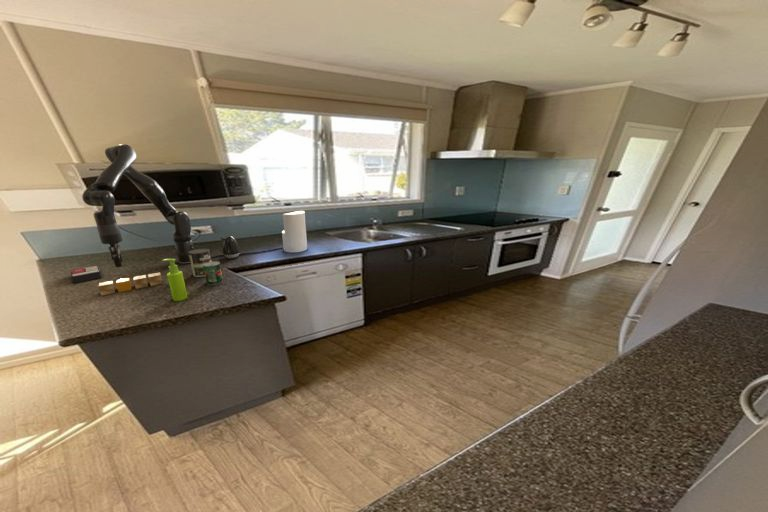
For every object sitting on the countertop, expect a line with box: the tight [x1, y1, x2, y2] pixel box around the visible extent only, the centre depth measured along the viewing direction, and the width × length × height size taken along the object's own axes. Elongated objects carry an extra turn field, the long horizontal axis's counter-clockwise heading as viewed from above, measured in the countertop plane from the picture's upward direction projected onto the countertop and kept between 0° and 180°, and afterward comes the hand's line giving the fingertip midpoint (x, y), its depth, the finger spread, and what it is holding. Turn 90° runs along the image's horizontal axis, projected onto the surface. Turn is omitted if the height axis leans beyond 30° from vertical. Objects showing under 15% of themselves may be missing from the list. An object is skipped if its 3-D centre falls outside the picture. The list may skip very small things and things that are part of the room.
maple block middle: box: [132, 274, 149, 290], centre depth 149 cm, size 5×5×5 cm
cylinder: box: [281, 210, 308, 253], centre depth 212 cm, size 17×17×28 cm
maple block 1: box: [97, 280, 117, 296], centre depth 141 cm, size 5×5×5 cm
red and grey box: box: [70, 265, 103, 284], centre depth 159 cm, size 11×4×15 cm
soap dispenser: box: [161, 258, 189, 302], centre depth 134 cm, size 6×7×20 cm
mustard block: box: [115, 277, 133, 293], centre depth 145 cm, size 5×5×5 cm
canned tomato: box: [203, 260, 224, 286], centre depth 154 cm, size 8×8×11 cm
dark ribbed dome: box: [220, 235, 241, 260], centre depth 193 cm, size 10×10×15 cm
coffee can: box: [188, 247, 212, 278], centre depth 165 cm, size 10×10×14 cm
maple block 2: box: [147, 272, 163, 287], centre depth 153 cm, size 5×5×5 cm
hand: (119, 264), depth 142 cm, fingers open, 8 cm apart
